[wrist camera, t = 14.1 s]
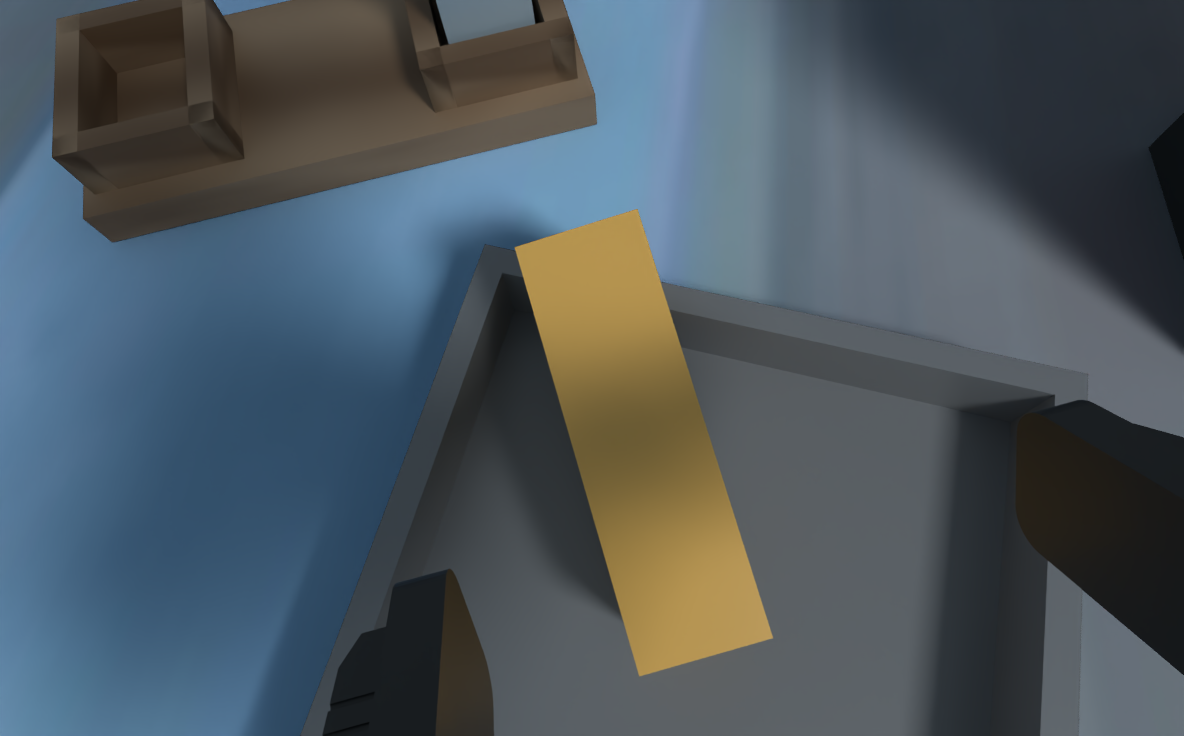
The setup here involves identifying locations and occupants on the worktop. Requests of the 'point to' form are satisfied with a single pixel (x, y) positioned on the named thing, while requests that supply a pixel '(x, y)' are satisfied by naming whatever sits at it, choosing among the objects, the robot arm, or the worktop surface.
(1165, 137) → the cleaning product box
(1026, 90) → the worktop surface
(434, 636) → the robot arm
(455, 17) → the block
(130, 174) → the block
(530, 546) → the tray
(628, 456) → the yellow rectangular block
